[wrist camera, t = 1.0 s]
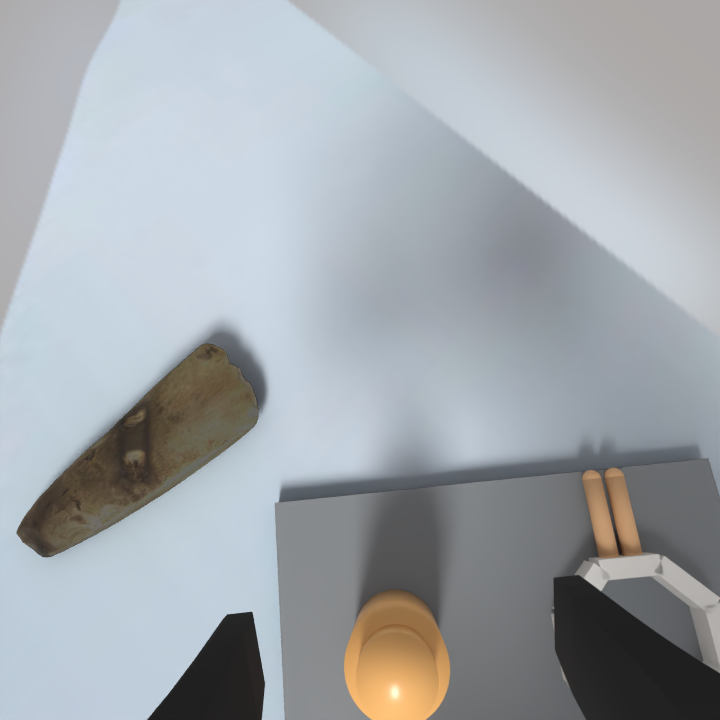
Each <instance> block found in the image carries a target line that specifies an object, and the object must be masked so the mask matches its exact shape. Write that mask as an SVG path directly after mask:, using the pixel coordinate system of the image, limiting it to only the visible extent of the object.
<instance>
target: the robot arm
mask: <svg viewBox="0 0 720 720" xmlns="http://www.w3.org/2000/svg"><path fill="white" fill-rule="evenodd" d="M553 583H554V634H555V652H556V654H557V657H558V660H559V662H560V665H561V667H562V670H563V672H564V675H565V677H566V680H567V682H568V684H569V687H570V689H571V692H572V694H573V696H574V698H575V700H576V702H577V704H578V706H579V708H580V709H581V711H582V713H583V715H584V717H585V719H586V720H720V673H719V672H717V671H716V670H714V669H712V668H711V667H709V666H707V665H706V664H704V663H702V662H701V661H699V660H698V659H696V658H695V657H693V656H692V655H690V654H689V653H687V652H685V651H684V650H682V649H681V648H679V647H678V646H676V645H675V644H673V643H672V642H670V641H669V640H667V639H666V638H664V637H663V636H661V635H660V634H658V633H657V632H656V631H654V630H653V629H651V628H650V627H649V626H647V625H646V624H644V623H643V622H642V621H640V620H639V619H637V618H636V617H635V616H633V615H632V614H631V613H629V612H628V611H627V610H625V609H624V608H622V607H621V606H620V605H618V604H617V603H616V602H614V601H613V600H612V599H610V598H609V597H608V596H607V595H605V594H604V593H603V592H601V591H600V590H599V589H597V588H596V587H595V586H593V585H592V584H591V583H589V582H588V581H587V580H585V579H584V578H583V577H581V576H580V575H573V576H564V577H555V578H553ZM264 688H265V681H264V675H263V669H262V664H261V658H260V652H259V647H258V641H257V635H256V629H255V624H254V618H253V612H246V613H237V614H228V615H226V616H225V618H224V619H223V620H222V621H221V623H220V624H219V626H218V627H217V628H216V630H215V631H214V633H213V634H212V636H211V637H210V638H209V640H208V641H207V643H206V644H205V646H204V647H203V648H202V650H201V651H200V653H199V654H198V655H197V657H196V658H195V659H194V661H193V662H192V664H191V665H190V666H189V668H188V669H187V670H186V672H185V673H184V674H183V676H182V677H181V678H180V680H179V681H178V682H177V684H176V685H175V686H174V687H173V689H172V690H171V691H170V693H169V694H168V695H167V696H166V698H165V699H164V700H163V701H162V702H161V704H160V705H159V706H158V707H157V708H156V710H155V711H154V712H153V713H152V715H151V716H150V717H149V718H148V719H147V720H262V710H263V699H264Z"/></svg>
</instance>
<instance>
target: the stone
mask: <svg viewBox="0 0 720 720" xmlns="http://www.w3.org/2000/svg"><path fill="white" fill-rule="evenodd" d="M257 420H258V406H257V400H256V396H255V393H254V391H253V388H252V385H251V384H250V383H249V382H248V381H247V380H246V379H245V378H244V377H243V375H242V371H241V369H240V368H239V367H236V366H234V365H232V364H231V363H230V361H229V358H228V355H227V353H226V351H224V350H223V349H221V348H219V347H216V346H215V345H213V344H203V345H201V346H200V347H198V348H197V349H196V350H195V351H194V352H193V353H192V354H190V355H189V356H188V357H187V358H186V359H185V360H184V361H182V362H181V363H180V364H179V365H178V366H177V367H176V368H174V369H173V370H172V371H171V372H170V373H169V374H168V375H167V376H165V377H164V378H163V379H162V380H161V381H160V382H159V383H158V384H157V385H156V386H154V387H153V388H152V389H151V390H150V391H149V392H148V393H147V394H146V395H145V396H144V397H143V399H142V400H141V401H140V402H139V403H138V404H137V405H136V406H135V407H134V408H132V409H131V410H130V411H129V412H128V413H127V414H126V415H125V416H124V417H123V418H121V419H120V420H119V421H118V422H117V424H116V425H115V426H114V427H113V428H112V429H111V430H110V431H109V432H108V433H107V434H106V435H105V436H103V437H102V438H101V439H99V440H98V441H97V442H95V443H94V444H93V445H92V446H91V447H90V448H89V449H88V450H87V451H85V452H84V453H83V454H82V455H81V456H80V457H79V458H78V459H77V460H76V461H75V462H74V463H73V464H72V465H71V466H70V467H69V468H68V469H67V470H66V471H65V472H64V473H63V474H62V475H61V476H60V477H59V478H58V479H57V480H56V481H55V482H54V483H53V484H52V485H51V486H50V487H49V488H48V489H47V490H46V491H45V492H44V493H43V494H42V495H41V496H40V497H39V498H38V500H37V501H36V502H35V503H34V505H33V506H32V508H31V509H30V510H29V511H28V513H27V514H26V515H25V517H24V519H23V520H22V522H21V524H20V525H19V527H18V530H17V535H18V536H19V537H20V538H21V540H22V542H23V543H25V544H26V545H27V546H29V547H30V548H32V549H33V550H34V551H35V552H36V553H38V554H39V555H41V556H42V557H51V556H54V555H56V554H58V553H61V552H63V551H65V550H67V549H69V548H71V547H73V546H75V545H77V544H79V543H81V542H82V541H84V540H86V539H88V538H90V537H92V536H94V535H96V534H98V533H99V532H101V531H103V530H105V529H107V528H108V527H110V526H112V525H114V524H115V523H117V522H119V521H121V520H122V519H124V518H126V517H127V516H129V515H130V514H132V513H134V512H135V511H137V510H139V509H140V508H142V507H144V506H145V505H147V504H148V503H150V502H151V501H153V500H155V499H156V498H158V497H159V496H161V495H163V494H164V493H166V492H167V491H169V490H170V489H172V488H173V487H175V486H176V485H177V484H179V483H180V482H182V481H183V480H185V479H186V478H187V477H189V476H190V475H192V474H193V473H195V472H196V471H197V470H199V469H200V468H202V467H203V466H204V465H206V464H207V463H209V462H210V461H211V460H213V459H214V458H215V457H217V456H218V455H220V454H221V453H222V452H223V451H225V450H226V449H227V448H229V447H230V446H231V445H233V444H234V443H235V442H236V441H238V440H239V439H240V438H242V437H243V436H244V435H245V434H246V433H247V432H249V431H250V430H251V429H252V428H253V427H254V426H255V424H256V423H257Z"/></svg>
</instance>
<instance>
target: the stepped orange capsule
mask: <svg viewBox="0 0 720 720" xmlns="http://www.w3.org/2000/svg"><path fill="white" fill-rule="evenodd" d="M344 674H345V680H346V684H347V687H348V690H349V693H350V695H351V697H352V699H353V700H354V702H355V703H356V705H357V706H358V708H359V709H360V710H361V711H362V712H363V713H364V714H365V715H366V716H368V717H369V718H370V719H372V720H426V719H427V718H428V717H430V716H431V715H432V714H433V713H434V712H435V711H436V709H437V708H438V707H439V706H440V704H441V702H442V701H443V699H444V697H445V694H446V692H447V688H448V685H449V679H450V661H449V656H448V652H447V649H446V646H445V643H444V641H443V638H442V636H441V633H440V631H439V628H438V626H437V623H436V621H435V618H434V616H433V614H432V612H431V610H430V609H429V607H428V606H427V605H426V604H425V603H424V602H423V601H422V600H421V599H420V598H419V597H417V596H416V595H414V594H412V593H410V592H408V591H404V590H398V589H391V590H386V591H383V592H380V593H378V594H376V595H374V596H373V597H371V598H370V599H369V600H368V601H367V602H366V603H365V604H364V606H363V607H362V609H361V610H360V612H359V614H358V617H357V620H356V623H355V625H354V628H353V631H352V634H351V637H350V639H349V642H348V645H347V648H346V652H345V659H344Z"/></svg>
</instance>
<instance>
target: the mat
mask: <svg viewBox="0 0 720 720" xmlns="http://www.w3.org/2000/svg"><path fill="white" fill-rule="evenodd" d="M275 519H276V540H277V561H278V582H279V604H280V625H281V646H282V667H283V688H284V709H285V720H372V719H370V718H369V717H368V716H366V715H365V714H364V713H363V712H362V711H361V710H360V709H359V708H358V706H357V705H356V703H355V702H354V700H353V699H352V697H351V695H350V693H349V690H348V687H347V684H346V680H345V674H344V659H345V652H346V648H347V645H348V642H349V639H350V637H351V634H352V631H353V628H354V625H355V623H356V620H357V617H358V614H359V612H360V610H361V609H362V607H363V606H364V604H365V603H366V602H367V601H368V600H369V599H370V598H371V597H373V596H374V595H376V594H378V593H380V592H383V591H386V590H391V589H398V590H404V591H408V592H410V593H412V594H414V595H416V596H417V597H419V598H420V599H421V600H422V601H423V602H424V603H425V604H426V605H427V606H428V607H429V609H430V610H431V612H432V614H433V616H434V618H435V621H436V623H437V626H438V628H439V631H440V633H441V636H442V638H443V641H444V643H445V646H446V649H447V652H448V656H449V661H450V679H449V685H448V688H447V692H446V694H445V697H444V699H443V701H442V702H441V704H440V706H439V707H438V708H437V709H436V711H435V712H434V713H433V714H432V715H431V716H430V717H428V718H427V719H426V720H586V719H585V717H584V715H583V713H582V711H581V709H580V708H579V706H578V704H577V702H576V700H575V698H574V696H573V694H572V692H571V689H570V687H569V684H568V682H567V680H566V677H565V675H564V672H563V670H562V667H561V665H560V662H559V660H558V657H557V654H556V652H555V634H554V583H553V578H555V577H564V576H573V575H580V576H581V577H583V578H584V579H585V580H587V581H588V582H589V583H591V584H592V585H593V586H595V587H596V588H597V589H599V590H600V591H601V592H603V593H604V594H605V595H607V596H608V597H609V598H610V599H612V600H613V601H614V602H616V603H617V604H618V605H620V606H621V607H622V608H624V609H625V610H627V611H628V612H629V613H631V614H632V615H633V616H635V617H636V618H637V619H639V620H640V621H642V622H643V623H644V624H646V625H647V626H649V627H650V628H651V629H653V630H654V631H656V632H657V633H658V634H660V635H661V636H663V637H664V638H666V639H667V640H669V641H670V642H672V643H673V644H675V645H676V646H678V647H679V648H681V649H682V650H684V651H685V652H687V653H689V654H690V655H692V656H693V657H695V658H696V659H698V660H699V661H701V662H702V663H704V664H706V665H707V666H709V667H711V668H712V669H714V670H716V671H717V672H719V673H720V498H719V494H718V491H717V487H716V484H715V480H714V477H713V473H712V470H711V467H710V463H709V460H708V458H706V459H696V460H687V461H677V462H667V463H657V464H648V465H638V466H628V467H619V468H609V469H599V470H588V471H580V472H570V473H560V474H551V475H541V476H531V477H522V478H512V479H502V480H492V481H483V482H473V483H463V484H454V485H444V486H434V487H424V488H415V489H405V490H395V491H386V492H376V493H366V494H356V495H347V496H337V497H327V498H318V499H308V500H298V501H288V502H279V503H275Z"/></svg>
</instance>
